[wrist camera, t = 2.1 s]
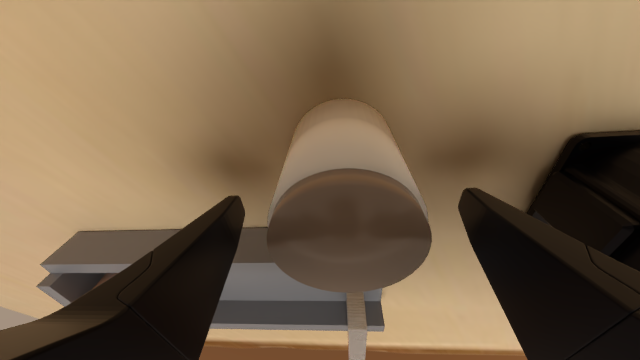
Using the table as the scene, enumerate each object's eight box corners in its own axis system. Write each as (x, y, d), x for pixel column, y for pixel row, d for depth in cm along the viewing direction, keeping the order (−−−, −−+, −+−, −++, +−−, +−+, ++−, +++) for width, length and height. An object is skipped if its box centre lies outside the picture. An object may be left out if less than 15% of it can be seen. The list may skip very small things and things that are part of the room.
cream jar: (396, 95, 11) (457, 175, 6) (386, 184, 15) (420, 295, 9) (285, 102, 12) (240, 184, 6) (299, 188, 15) (278, 294, 9)
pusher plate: (359, 251, 17) (367, 329, 12) (357, 301, 20) (363, 373, 16) (344, 251, 17) (348, 329, 13) (346, 301, 21) (349, 372, 16)
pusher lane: (386, 225, 17) (399, 277, 13) (378, 296, 22) (385, 345, 19) (78, 231, 19) (24, 278, 15) (140, 295, 24) (110, 339, 21)
